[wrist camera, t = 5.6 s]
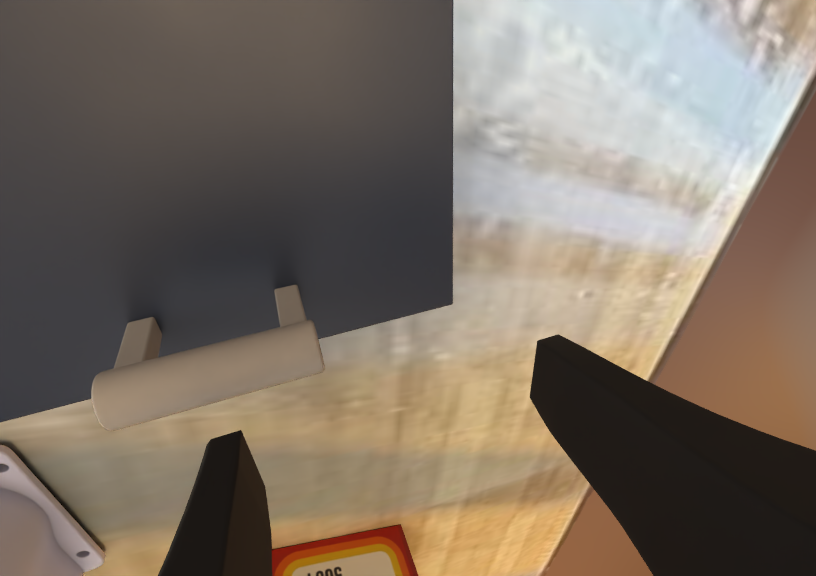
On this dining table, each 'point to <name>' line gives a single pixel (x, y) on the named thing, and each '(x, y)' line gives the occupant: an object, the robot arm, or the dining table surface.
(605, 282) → the dining table surface
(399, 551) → the baking soda box
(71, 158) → the cover
